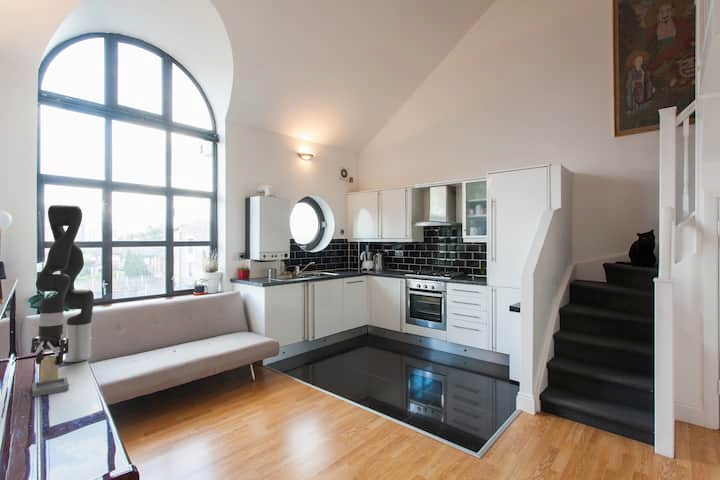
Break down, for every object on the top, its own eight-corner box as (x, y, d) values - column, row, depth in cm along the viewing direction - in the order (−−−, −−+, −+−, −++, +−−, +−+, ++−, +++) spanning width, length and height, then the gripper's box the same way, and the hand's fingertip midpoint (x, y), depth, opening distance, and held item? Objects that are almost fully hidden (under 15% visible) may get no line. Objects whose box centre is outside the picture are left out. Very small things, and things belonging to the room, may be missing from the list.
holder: (32, 388, 135) (32, 383, 135) (66, 382, 142) (66, 377, 142) (32, 396, 128) (33, 391, 128) (68, 389, 135) (68, 384, 135)
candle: (36, 382, 141) (38, 357, 142) (53, 377, 147) (54, 353, 147) (45, 384, 139) (46, 358, 140) (61, 380, 144) (62, 355, 145)
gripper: (75, 322, 146) (73, 362, 146) (44, 321, 148) (42, 360, 147) (58, 326, 139) (55, 368, 138) (25, 324, 140) (23, 366, 140)
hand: (48, 364), depth 143 cm, fingers open, 8 cm apart
